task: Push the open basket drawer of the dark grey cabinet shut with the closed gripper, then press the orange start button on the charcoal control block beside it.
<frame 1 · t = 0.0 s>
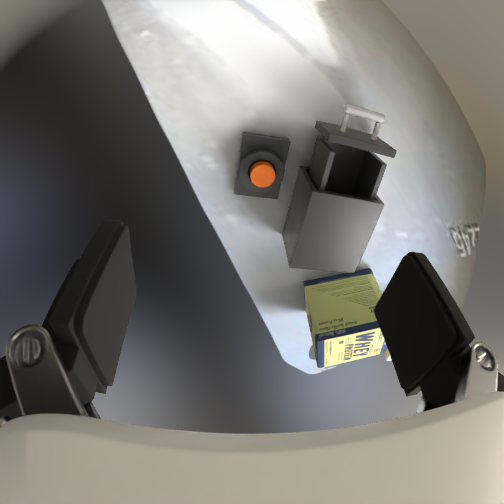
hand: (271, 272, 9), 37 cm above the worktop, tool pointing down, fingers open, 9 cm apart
drawer: (348, 159, 40), point 5 cm above the worktop, slide at 7.0 cm
protein box: (337, 290, 64), on the worktop
control block: (260, 165, 45), on the worktop
start button: (262, 174, 42), point 4 cm above the worktop, slide at 0.2 cm
dark grey cabinet: (322, 207, 50), on the worktop
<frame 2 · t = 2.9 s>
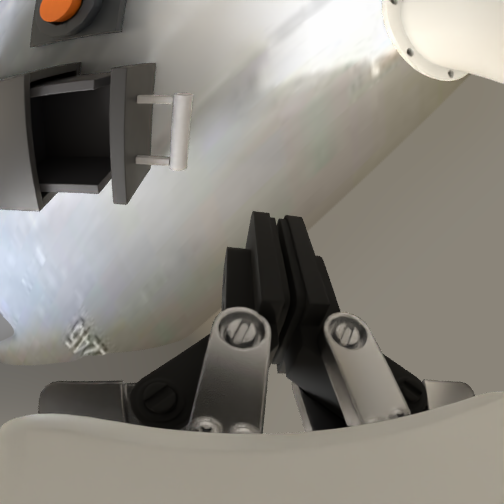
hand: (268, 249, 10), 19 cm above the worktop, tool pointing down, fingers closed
drawer: (95, 127, 20), point 5 cm above the worktop, slide at 7.0 cm
control block: (80, 6, 16), on the worktop
start button: (60, 3, 13), point 4 cm above the worktop, slide at 0.2 cm
dark grey cabinet: (31, 121, 22), on the worktop
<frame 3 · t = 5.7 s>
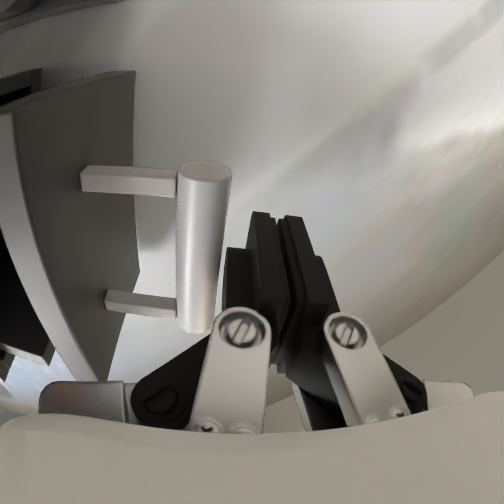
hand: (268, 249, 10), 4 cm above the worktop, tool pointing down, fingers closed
drawer: (19, 223, 9), point 5 cm above the worktop, slide at 4.3 cm, touching gripper
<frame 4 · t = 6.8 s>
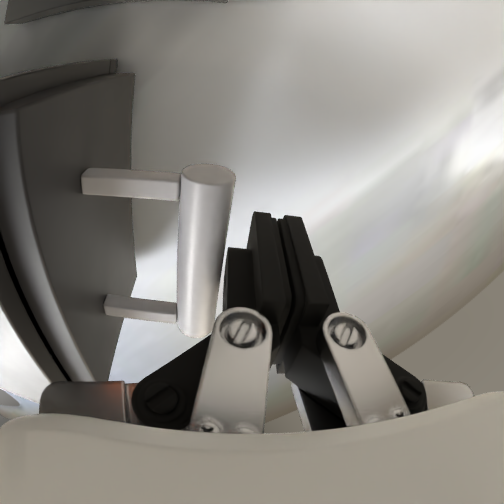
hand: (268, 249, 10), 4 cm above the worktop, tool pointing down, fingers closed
drawer: (16, 227, 9), point 5 cm above the worktop, slide at 0.0 cm, touching dark grey cabinet, gripper
dark grey cabinet: (12, 177, 12), on the worktop
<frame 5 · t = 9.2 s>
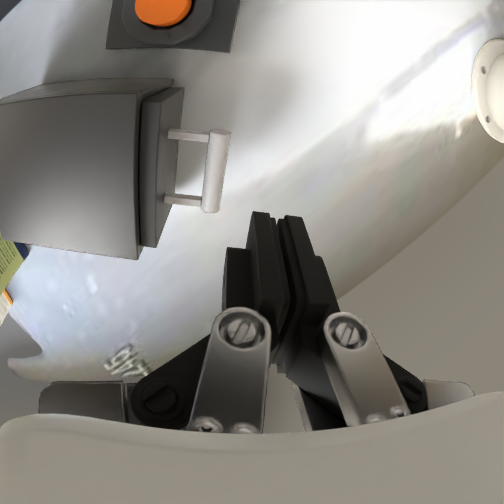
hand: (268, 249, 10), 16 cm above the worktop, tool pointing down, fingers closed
drawer: (117, 158, 20), point 5 cm above the worktop, slide at 0.0 cm, touching dark grey cabinet
control block: (175, 10, 16), on the worktop
start button: (163, 3, 13), point 4 cm above the worktop, slide at 0.2 cm
dark grey cabinet: (97, 139, 23), on the worktop
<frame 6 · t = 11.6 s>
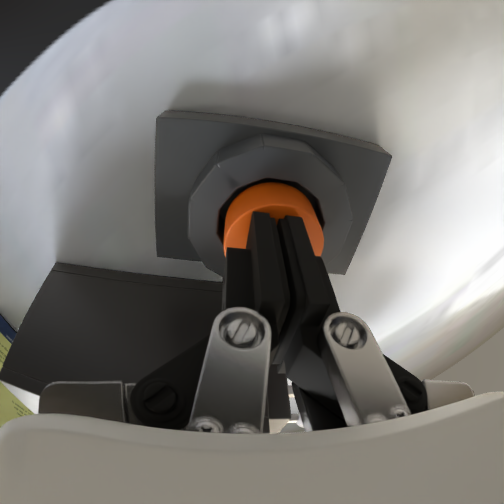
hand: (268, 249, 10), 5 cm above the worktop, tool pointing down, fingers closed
drawer: (202, 391, 17), point 5 cm above the worktop, slide at 0.0 cm, touching dark grey cabinet
protein box: (12, 349, 24), on the worktop
control block: (265, 191, 14), on the worktop
start button: (272, 234, 11), point 4 cm above the worktop, slide at 0.1 cm, touching gripper
dark grey cabinet: (155, 331, 20), on the worktop
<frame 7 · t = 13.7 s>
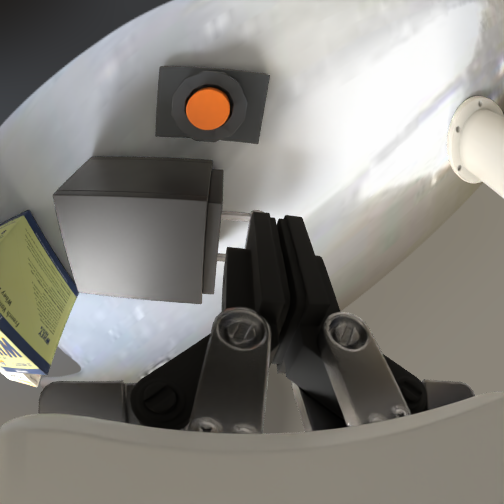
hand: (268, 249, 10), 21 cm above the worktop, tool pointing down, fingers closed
drawer: (176, 228, 29), point 5 cm above the worktop, slide at 0.0 cm, touching dark grey cabinet
protein box: (34, 258, 35), on the worktop
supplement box: (38, 320, 44), on the worktop
control block: (210, 102, 25), on the worktop
start button: (208, 108, 22), point 4 cm above the worktop, slide at 0.2 cm
dark grey cabinet: (149, 204, 32), on the worktop
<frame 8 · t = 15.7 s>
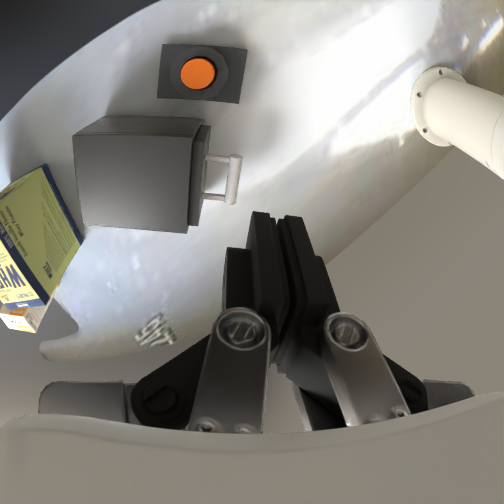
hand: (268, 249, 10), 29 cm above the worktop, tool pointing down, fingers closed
drawer: (170, 171, 33), point 5 cm above the worktop, slide at 0.0 cm, touching dark grey cabinet
protein box: (45, 210, 40), on the worktop
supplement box: (42, 275, 49), on the worktop
control block: (202, 72, 30), on the worktop
start button: (198, 73, 27), point 4 cm above the worktop, slide at 0.2 cm
dark grey cabinet: (149, 156, 36), on the worktop
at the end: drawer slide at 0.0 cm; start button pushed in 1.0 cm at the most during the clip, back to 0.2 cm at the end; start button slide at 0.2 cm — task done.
